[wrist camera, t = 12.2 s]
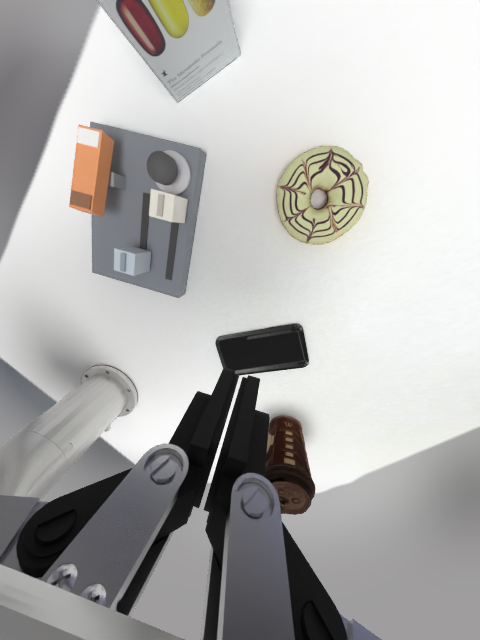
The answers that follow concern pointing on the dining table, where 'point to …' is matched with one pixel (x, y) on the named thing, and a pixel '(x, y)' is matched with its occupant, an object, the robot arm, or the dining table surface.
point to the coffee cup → (289, 465)
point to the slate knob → (132, 260)
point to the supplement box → (178, 38)
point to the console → (147, 211)
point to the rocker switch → (91, 170)
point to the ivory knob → (167, 206)
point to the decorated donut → (340, 185)
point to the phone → (264, 350)
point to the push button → (162, 168)
